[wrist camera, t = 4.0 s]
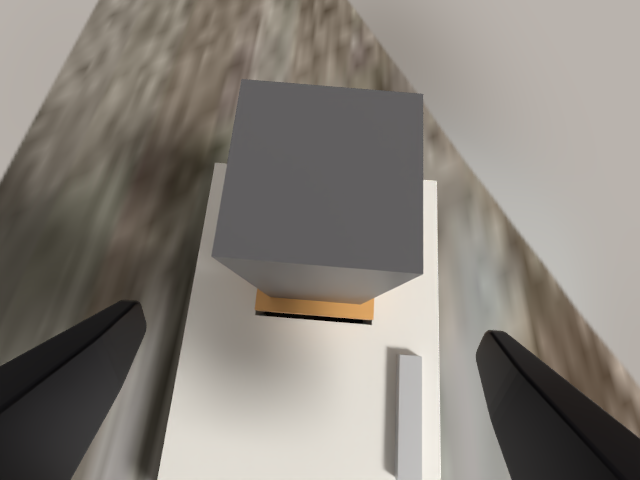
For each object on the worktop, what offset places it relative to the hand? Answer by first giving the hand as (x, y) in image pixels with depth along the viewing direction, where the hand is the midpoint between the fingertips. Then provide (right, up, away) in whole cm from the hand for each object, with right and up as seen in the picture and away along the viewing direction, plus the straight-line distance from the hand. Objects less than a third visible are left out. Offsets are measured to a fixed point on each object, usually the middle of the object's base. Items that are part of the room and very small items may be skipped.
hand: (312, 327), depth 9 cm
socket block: (0, -4, +10) cm, 10 cm away
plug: (0, 0, +11) cm, 11 cm away
